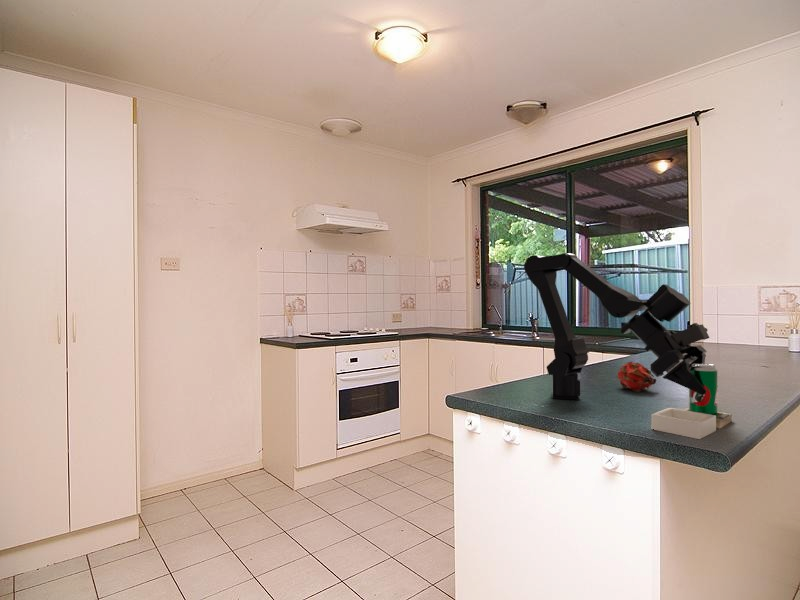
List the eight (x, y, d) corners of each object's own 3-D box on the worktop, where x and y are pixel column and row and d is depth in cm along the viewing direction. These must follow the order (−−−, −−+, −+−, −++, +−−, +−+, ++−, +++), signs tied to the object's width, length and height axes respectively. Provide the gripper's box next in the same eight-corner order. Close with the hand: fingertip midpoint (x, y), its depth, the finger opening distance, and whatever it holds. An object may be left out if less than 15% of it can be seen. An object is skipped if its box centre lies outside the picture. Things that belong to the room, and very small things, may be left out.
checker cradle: (675, 420, 99) (675, 412, 99) (688, 413, 104) (688, 405, 104) (720, 428, 93) (720, 419, 93) (731, 421, 98) (731, 412, 98)
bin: (651, 429, 93) (651, 414, 93) (669, 421, 98) (669, 407, 98) (699, 439, 86) (699, 423, 86) (716, 430, 92) (716, 415, 92)
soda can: (722, 424, 96) (722, 366, 96) (695, 423, 97) (695, 366, 97) (710, 418, 101) (710, 363, 101) (685, 417, 102) (685, 362, 102)
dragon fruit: (624, 390, 138) (650, 405, 127) (603, 374, 137) (628, 388, 125) (641, 367, 138) (669, 380, 126) (621, 351, 136) (647, 363, 124)
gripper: (666, 312, 95) (730, 372, 87) (696, 310, 108) (754, 362, 99) (627, 347, 101) (684, 406, 93) (659, 341, 114) (712, 393, 105)
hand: (710, 390), depth 98 cm, fingers open, 7 cm apart
